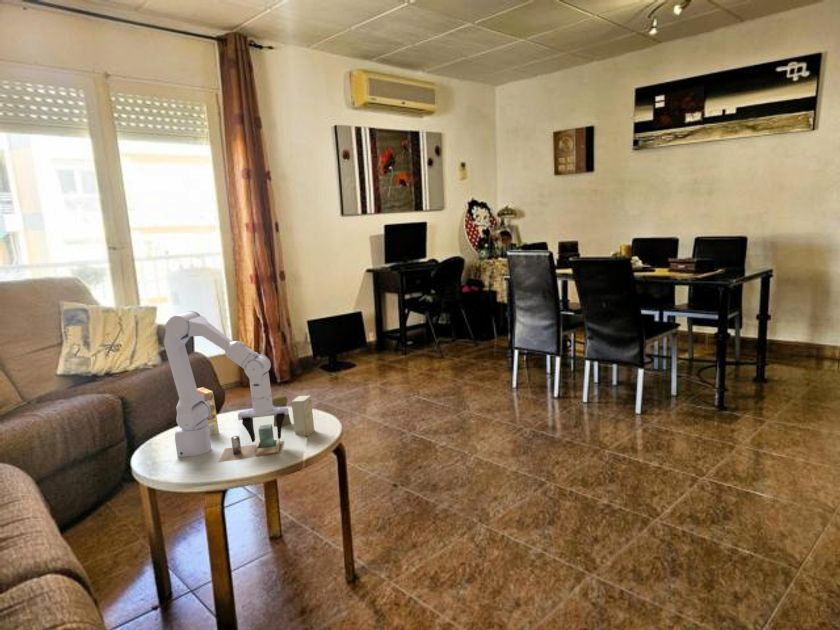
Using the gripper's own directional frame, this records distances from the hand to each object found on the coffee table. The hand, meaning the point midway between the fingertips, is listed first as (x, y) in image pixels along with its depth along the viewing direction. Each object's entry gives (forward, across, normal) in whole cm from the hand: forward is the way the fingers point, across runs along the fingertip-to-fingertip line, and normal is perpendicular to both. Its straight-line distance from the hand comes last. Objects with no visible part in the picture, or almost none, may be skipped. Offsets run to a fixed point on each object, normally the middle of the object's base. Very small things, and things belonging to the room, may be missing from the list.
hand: (266, 439), depth 165 cm
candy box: (+4, +22, -24) cm, 33 cm away
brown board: (+4, +4, 0) cm, 6 cm away
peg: (+3, 0, 0) cm, 3 cm away
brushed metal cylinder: (+3, +9, 0) cm, 10 cm away
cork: (+4, -2, -22) cm, 23 cm away
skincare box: (+4, -10, -12) cm, 17 cm away
